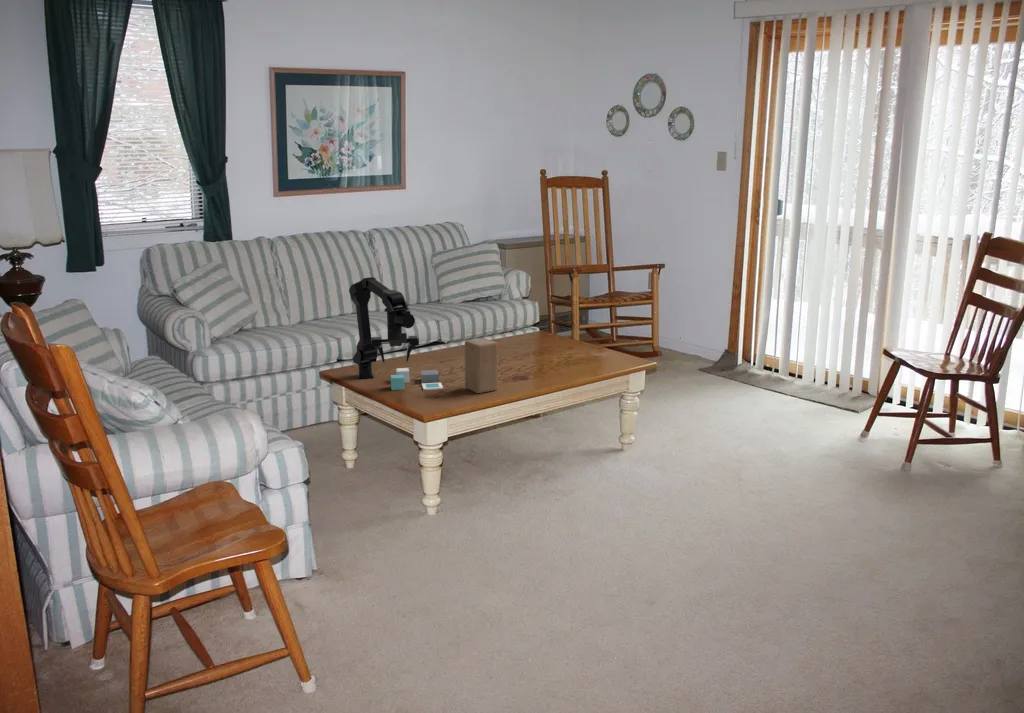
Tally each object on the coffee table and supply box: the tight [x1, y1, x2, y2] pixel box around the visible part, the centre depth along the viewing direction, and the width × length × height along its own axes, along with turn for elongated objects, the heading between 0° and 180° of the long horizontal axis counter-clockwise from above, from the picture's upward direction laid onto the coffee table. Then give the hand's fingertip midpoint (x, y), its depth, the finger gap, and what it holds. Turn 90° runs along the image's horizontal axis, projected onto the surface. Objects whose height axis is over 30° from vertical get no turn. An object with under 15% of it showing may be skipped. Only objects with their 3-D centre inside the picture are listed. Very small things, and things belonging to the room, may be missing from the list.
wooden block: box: [464, 337, 499, 394], centre depth 360 cm, size 10×10×20 cm
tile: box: [421, 381, 444, 391], centre depth 366 cm, size 8×8×1 cm
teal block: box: [390, 374, 405, 391], centre depth 363 cm, size 5×5×5 cm
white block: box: [395, 367, 411, 384], centre depth 373 cm, size 5×5×5 cm
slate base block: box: [420, 369, 440, 384], centre depth 374 cm, size 7×7×4 cm
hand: (395, 362), depth 361 cm, fingers open, 9 cm apart
